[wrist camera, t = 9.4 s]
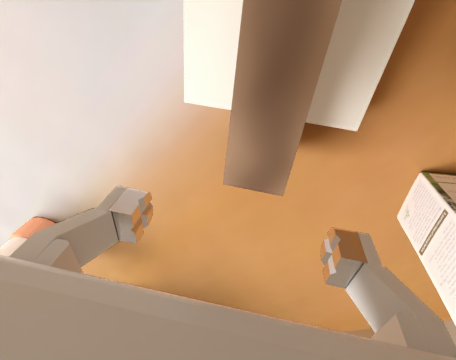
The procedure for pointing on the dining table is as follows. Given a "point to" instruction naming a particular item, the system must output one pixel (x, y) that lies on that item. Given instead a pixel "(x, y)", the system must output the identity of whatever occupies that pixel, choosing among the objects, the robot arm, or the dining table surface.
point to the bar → (274, 87)
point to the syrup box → (434, 230)
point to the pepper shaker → (24, 234)
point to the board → (331, 70)
